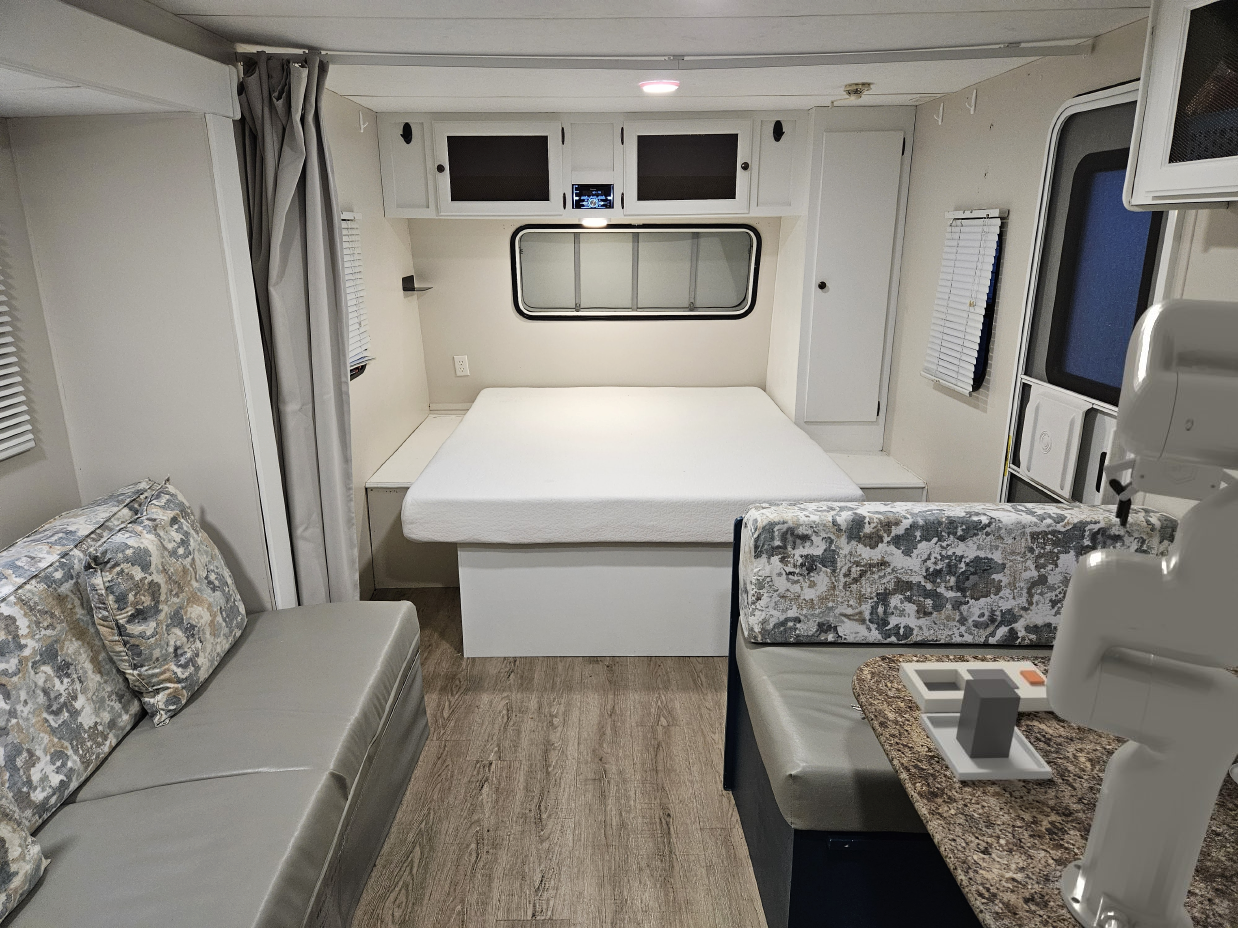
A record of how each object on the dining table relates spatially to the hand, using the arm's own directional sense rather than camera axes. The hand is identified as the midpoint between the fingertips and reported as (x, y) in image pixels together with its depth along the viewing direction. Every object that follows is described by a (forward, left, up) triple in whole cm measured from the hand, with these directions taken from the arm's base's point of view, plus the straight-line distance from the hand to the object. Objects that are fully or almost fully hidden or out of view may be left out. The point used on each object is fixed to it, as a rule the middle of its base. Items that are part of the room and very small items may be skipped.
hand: (1161, 529), depth 114 cm
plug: (-23, +17, -30) cm, 41 cm away
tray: (-23, +17, -30) cm, 42 cm away
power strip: (-8, +19, -30) cm, 37 cm away
